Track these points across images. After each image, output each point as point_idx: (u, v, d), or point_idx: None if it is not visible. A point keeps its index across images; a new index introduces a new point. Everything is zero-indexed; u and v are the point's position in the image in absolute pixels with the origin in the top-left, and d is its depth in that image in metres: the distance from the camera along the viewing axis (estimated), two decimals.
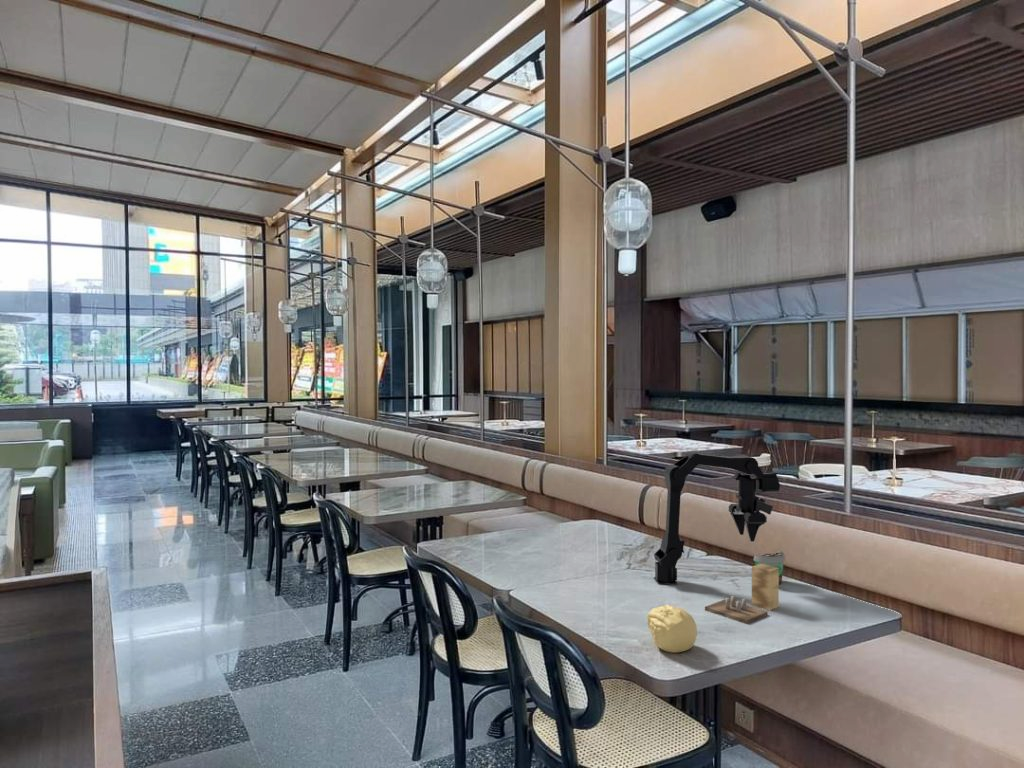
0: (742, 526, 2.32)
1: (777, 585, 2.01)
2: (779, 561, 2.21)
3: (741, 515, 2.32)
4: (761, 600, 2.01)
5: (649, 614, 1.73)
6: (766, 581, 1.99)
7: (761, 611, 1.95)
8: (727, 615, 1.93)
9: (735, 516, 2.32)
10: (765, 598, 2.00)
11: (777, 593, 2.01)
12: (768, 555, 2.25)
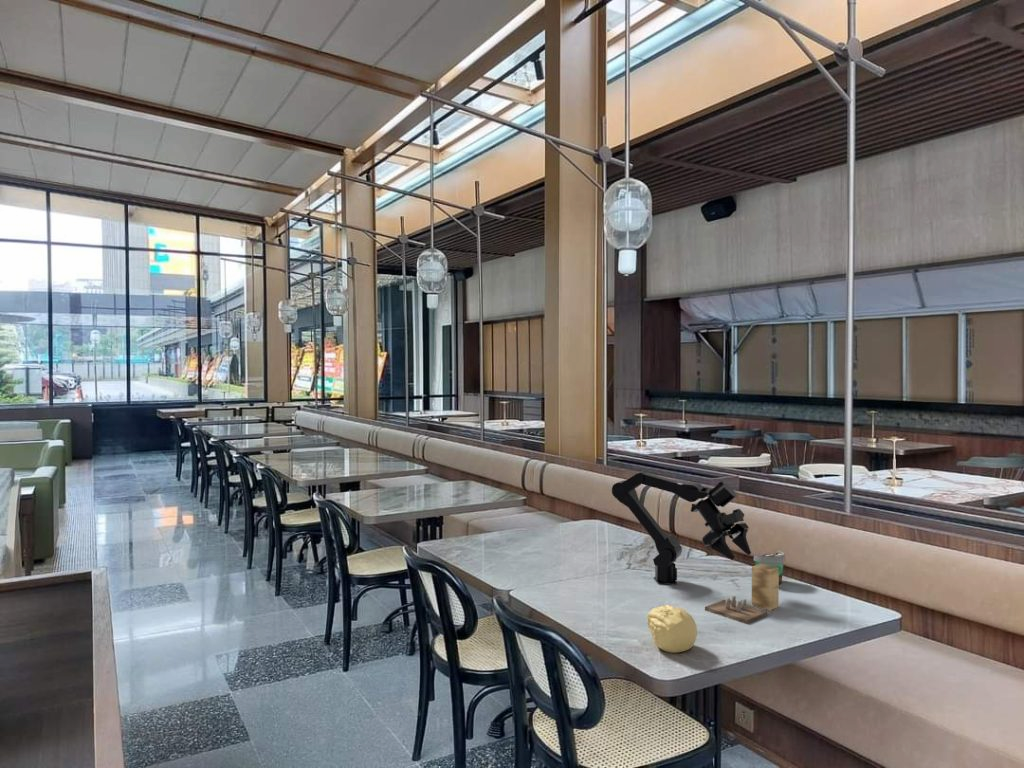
0: (744, 546, 2.13)
1: (777, 585, 2.01)
2: (779, 561, 2.21)
3: (738, 536, 2.16)
4: (761, 600, 2.01)
5: (649, 614, 1.73)
6: (766, 581, 1.99)
7: (761, 611, 1.95)
8: (727, 615, 1.93)
9: (734, 540, 2.17)
10: (765, 598, 2.00)
11: (777, 593, 2.01)
12: (768, 555, 2.25)
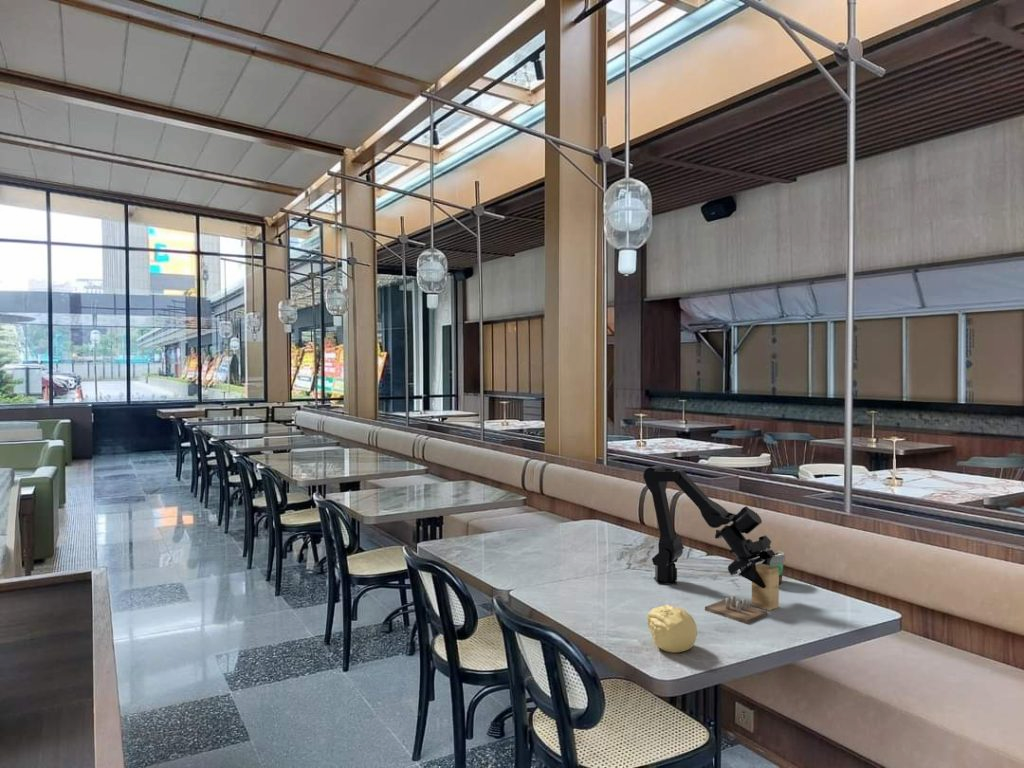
0: None
1: (777, 585, 2.01)
2: (779, 561, 2.21)
3: None
4: (761, 600, 2.01)
5: (649, 614, 1.73)
6: (766, 581, 1.99)
7: (761, 611, 1.95)
8: (727, 615, 1.93)
9: None
10: (765, 598, 2.00)
11: (777, 593, 2.01)
12: None
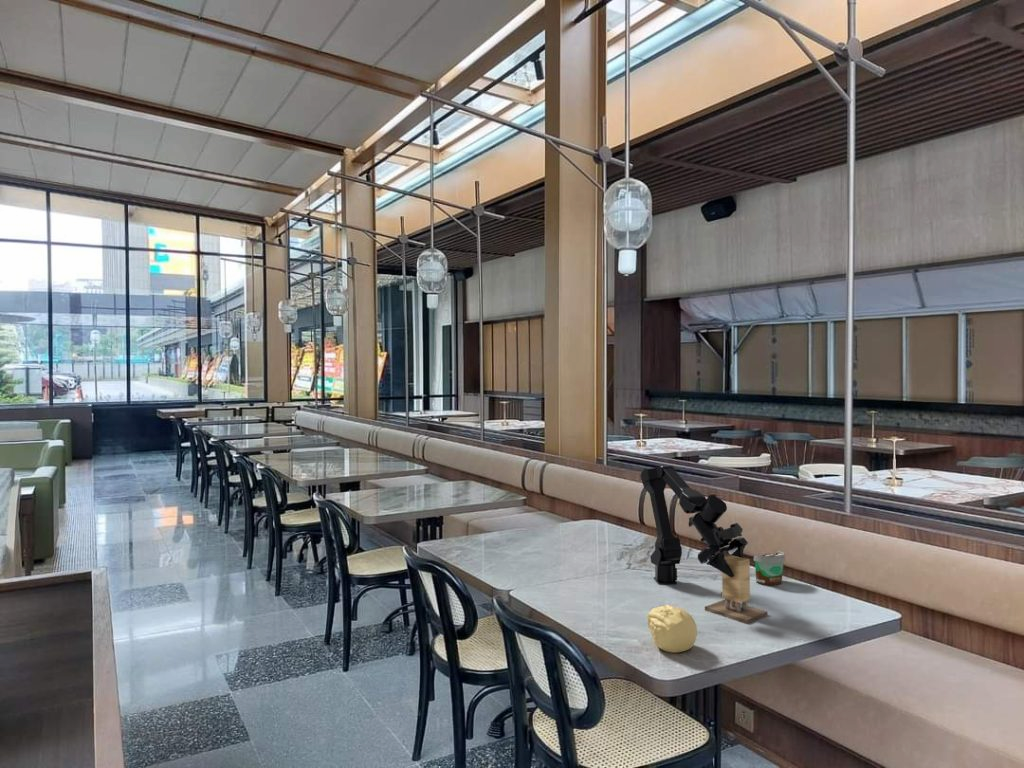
0: None
1: (748, 577, 1.96)
2: (779, 561, 2.21)
3: (734, 553, 2.02)
4: (732, 593, 1.95)
5: (649, 614, 1.73)
6: (736, 572, 1.94)
7: (761, 611, 1.95)
8: (727, 615, 1.93)
9: None
10: (736, 590, 1.94)
11: (747, 585, 1.96)
12: (768, 555, 2.25)
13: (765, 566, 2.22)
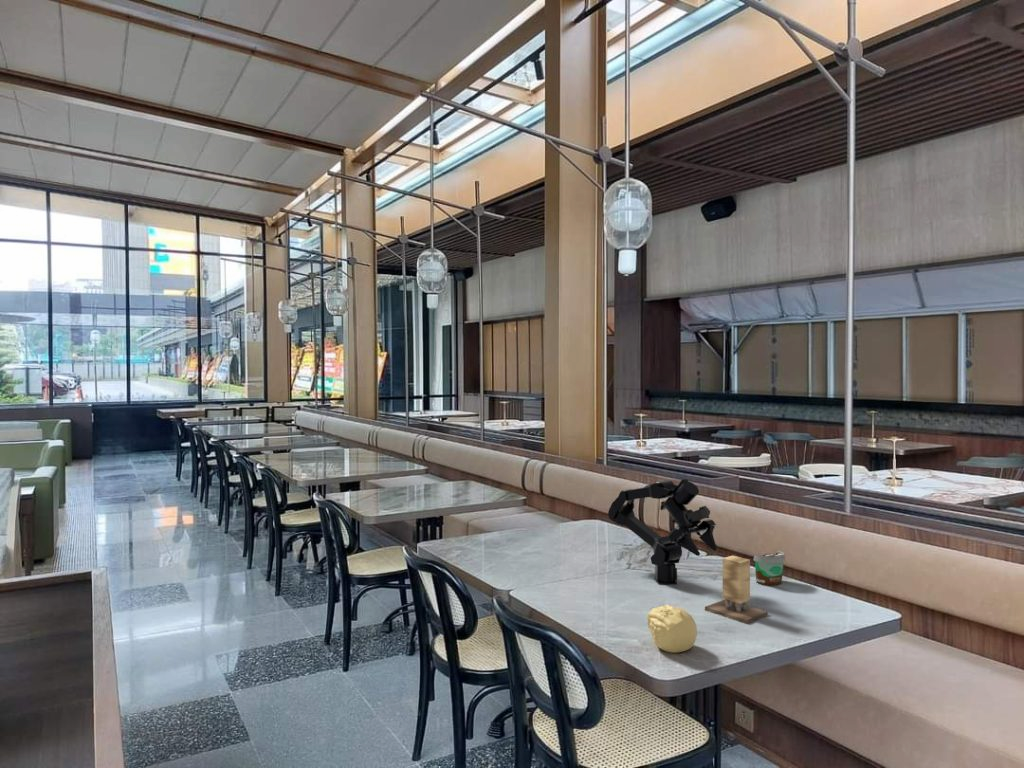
0: (711, 542, 2.17)
1: (748, 577, 1.96)
2: (779, 561, 2.21)
3: (705, 533, 2.19)
4: (732, 593, 1.95)
5: (649, 614, 1.73)
6: (737, 573, 1.94)
7: (761, 611, 1.95)
8: (727, 615, 1.93)
9: (701, 537, 2.20)
10: (736, 591, 1.94)
11: (748, 585, 1.96)
12: (768, 555, 2.25)
13: (765, 566, 2.22)
